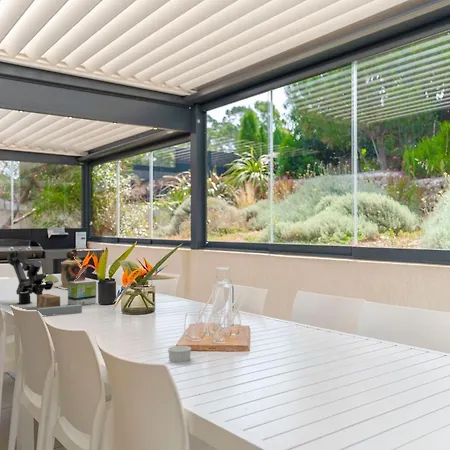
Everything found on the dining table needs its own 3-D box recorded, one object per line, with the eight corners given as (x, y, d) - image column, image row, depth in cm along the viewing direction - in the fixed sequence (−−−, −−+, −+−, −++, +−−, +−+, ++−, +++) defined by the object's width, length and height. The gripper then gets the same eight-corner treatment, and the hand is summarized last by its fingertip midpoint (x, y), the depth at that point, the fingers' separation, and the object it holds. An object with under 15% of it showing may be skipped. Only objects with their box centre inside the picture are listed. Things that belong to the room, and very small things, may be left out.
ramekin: (163, 360, 183) (163, 348, 183) (179, 355, 190) (179, 344, 190) (180, 364, 177) (180, 352, 177) (196, 359, 184) (196, 347, 184)
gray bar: (38, 317, 267) (38, 309, 267) (37, 316, 271) (37, 308, 271) (81, 313, 280) (81, 305, 280) (80, 312, 283) (80, 304, 283)
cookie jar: (52, 287, 392) (52, 248, 392) (80, 284, 409) (80, 247, 409) (65, 290, 374) (65, 249, 374) (94, 287, 391) (94, 248, 391)
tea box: (76, 306, 301) (76, 282, 301) (67, 304, 307) (67, 281, 307) (96, 303, 313) (96, 280, 313) (87, 301, 319) (86, 279, 319)
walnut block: (36, 309, 289) (36, 295, 289) (48, 308, 294) (48, 293, 294) (48, 313, 278) (48, 297, 278) (60, 311, 283) (60, 296, 283)
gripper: (22, 270, 291) (29, 290, 283) (52, 268, 304) (60, 287, 296) (17, 282, 296) (24, 302, 288) (46, 279, 309) (54, 298, 301)
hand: (41, 297), depth 293 cm, fingers closed
